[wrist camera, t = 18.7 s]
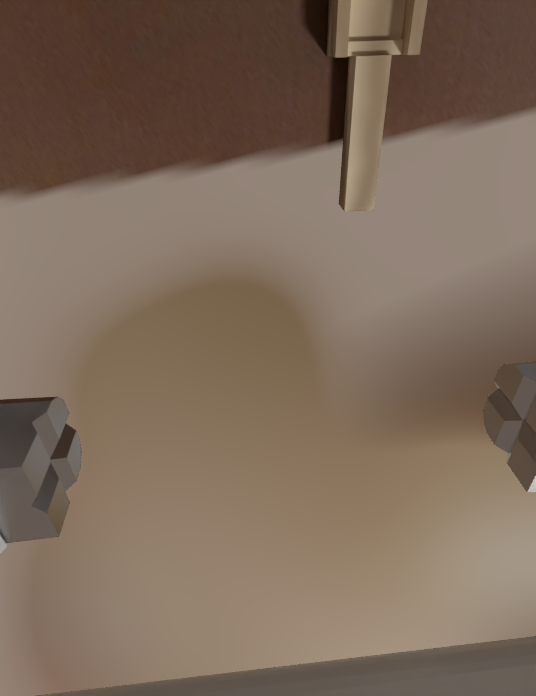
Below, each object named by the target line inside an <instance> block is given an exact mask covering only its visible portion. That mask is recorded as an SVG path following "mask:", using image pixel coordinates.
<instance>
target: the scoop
mask: <svg viewBox="0 0 536 696" xmlns="http://www.w3.org/2000/svg"><path fill="white" fill-rule="evenodd" d="M426 6H427V0H329V8H328V31H327V55H326V56H329V57H334V58H341V57H347V56H349V62H348V77H347V92H346V107H345V122H344V136H343V151H342V167H341V181H340V196H339V205H340V206H341V207H342V209H343V210H344V212H349V211H366V210H374V204H375V195H376V187H377V178H378V168H379V160H380V152H381V143H382V135H383V126H384V117H385V109H386V100H387V91H388V82H389V74H390V65H391V56H392V55H397V54H403V55H419V54H420V48H421V41H422V34H423V27H424V20H425V13H426Z"/></svg>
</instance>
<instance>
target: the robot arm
mask: <svg viewBox="0 0 536 696" xmlns="http://www.w3.org/2000/svg"><path fill="white" fill-rule="evenodd" d="M494 382H495V384H496V385H497V387H498V389H497V390H496V391H494V392H493V393H492V394H491V395H490V396H489V397H488V398H487V400H486V403H485V406H484V409H483V417H484V425H485V428H486V431H487V433H488V435H489V437H490V438H491V440H492V441H493V443H494V445H496V446H498V447H499V448H501V449H503V450H504V451H506V452H508V460H507V464H508V465H509V467H510V468H511V470H512V471H513V472H514V474H515V475H516V477H517V478H518V480H519V481H520V483H521V484H522V486H523V487H524V489H525V490H526V492H536V361H532V362H519V363H507V364H503V365H502V366H501V367H500V368H499V369H498V371H497V374H496V376H495V378H494ZM68 415H69V411H68V409H67V406H66V404H65V402H64V400H63V399H61V398H59V397H43V398H24V399H6V400H5V399H4V400H0V553H1V552H2V551H3V550H4V549H5V548H6V547H7V544H6V543H12V542H20V541H28V540H37V539H45V538H53V537H59V535H60V532H61V528H62V526H63V522H64V519H65V516H66V513H67V510H68V507H69V504H70V502H69V499H68V497H67V495H66V493H65V491H66V490H68V489H69V487H71V486H72V485H73V484H74V483H75V482H76V481H77V478H78V475H79V471H80V467H81V453H82V451H81V444H80V439H79V436H78V434H77V431H76V430H75V429H73V428H72V427H70V426H69V425H67V424H66V420H67V417H68ZM38 696H536V636H534V637H526V638H517V639H508V640H500V641H492V642H483V643H475V644H466V645H458V646H450V647H442V648H433V649H424V650H417V651H409V652H399V653H391V654H383V655H375V656H366V657H358V658H349V659H341V660H332V661H324V662H315V663H308V664H298V665H290V666H282V667H274V668H265V669H256V670H248V671H240V672H231V673H223V674H214V675H206V676H198V677H189V678H181V679H172V680H164V681H155V682H147V683H139V684H130V685H122V686H113V687H105V688H97V689H88V690H80V691H71V692H63V693H55V694H46V695H38Z"/></svg>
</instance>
